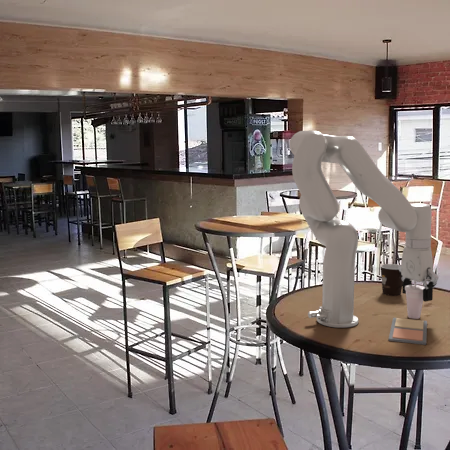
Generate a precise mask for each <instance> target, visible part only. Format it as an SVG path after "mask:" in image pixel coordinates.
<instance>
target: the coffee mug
mask: <svg viewBox="0 0 450 450" xmlns="http://www.w3.org/2000/svg"><path fill="white" fill-rule="evenodd" d="M399 265H400V264H397V263H395V264H394V263H385V264H381V265H380V275H381V276H380V278H381V288H382V294H383V295H386V296H391V297H397V296H401V295H402V288H403V281H402V280H401V278H402V277H401V275H400V271H399V268H398V266H399Z"/></svg>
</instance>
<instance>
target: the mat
mask: <svg viewBox="0 0 450 450" xmlns="http://www.w3.org/2000/svg"><path fill="white" fill-rule="evenodd" d="M427 328H428V320H423V319H422V320H421V319H413V318H409V319H408V318H401V317H400V318H399V317H393V318H392V322H391V326H390V330H389V331H390V332H389V335H388V341H389V342H397V343H398V342H399V343H405V344H416V345H422V346H423V345H425V346H427V335H428V334H427Z"/></svg>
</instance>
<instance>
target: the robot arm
mask: <svg viewBox="0 0 450 450" xmlns="http://www.w3.org/2000/svg"><path fill="white" fill-rule="evenodd" d="M289 149H290V152H291V153H292V154H293V160H292V167H291V171H292V172H291V173H292V178H293V180H294V183H295V185H296V187H297V189H298V190H299V194H300V196H299V202H298V203H299V204H298V205H299V209H300V212H301V214H302V216H303V218H304V220H305V222H306V224H307V225H308V227H309V229H310V230H311V232H312V235H313V236H314V237H315V239H316V240H317V242H318V243H319V244H320V245H322V246H324V247H325V250H324V251H325V252H324V255H323V261H322V262H323V263H322V302H321V303H322V305H321V306H319V307H318V309H317V310H315V311H314V310H313V311H311V310H310V311H308V312H307V317H308V318H309V319H312V318H313V319H314V318H315V319H316V322H318V323H319V324H320V325H323V326H325V327H330V328H339V329H344V328H352V327H355V326H357V325H358V324H359V318H358V316H356V315H354V306H355V305H354V304H355V278H356V277H355V273H356V271H355V269H356V258H357V256H356V255H357V250H358V245H359V235H358V231H357V230H356V227H354V225H352V224H351V223H349V222H348V221H345V220H343V219H340V218H339V217H338V214H339V210H340V205H339V201H338V199H337V197H336V196H335V195H336V194H334V192H333V190H332V188H331V186H330V185H329V183H328V181H327V179H326V176H325V175H324V172H323V169H322V163H328V164H330V163H331V164H338V165H340V167H341V169H343V171H344V173H346V175H347V176H348V178H349V180H350V181H351V182H352V183H353V184H354V186H355V188H356V189H357V190H358V191H359V192H360V193H361V194H362V195H364V196H365V197H366V198H368V199H370V200H371V201H373V202H374V203H376V204H377V205H378V206H379V207H380V210H379V211H378V216H377V217H378V220H379V221H378V222H380V224H382V225H383V226H384V227H386V228H389V229H390V230H391V229H392V230H395V231H398V232H401V233H405V244H404V245H405V246H404V247H403V249H402V250H403V251H402V254H401V264H398V265H399V266H398V268H399V271H400V275H401V277H402V278H401V280H402V281H403V286H402V290H401V294H405V295H406V291H405V286H407V285H413V282H414V281H416V283H417V282H418V283H421V284H422V286H423V287H425V288H424V289H423V302H430V301H432V300H433V299H434V298H433V297H434V296H433V294H434V293H433V291H434V289H435V287H436V286H437V282H438V280H439V276H438V275H437V274H436V272H434V262H433V252H432V247H431V246H432V207H431V205H429V204H428V203H410V201H409V200H408V198H407V197H406V196H405V195H404V193H403V192H402V191H401V189H399V188H398V187H397V186H396V185H395V184H394V183H392V182H391V180H390V179H389V178H388V177H386V176H385V174H383V173H382V171H381V170H380V169H379V167H378V166H377V164H376V163H375V162H374V160H373V159H372V158H371V156H370V154H369V153H368V152H367V150H366V149H365V147H364V146H363V144H361V142H360V141H359V140H358V139H357V138H355V137H354V136H350V135H348V136H347V135H345V136H344V135H332V134H331V135H329V134H324V133H322V132H320V131H317V130H313V129H312V130H309V129H308V130H300V131H297V132H296V133H294V135H292V136H291V138H290V140H289ZM412 281H413V282H412Z"/></svg>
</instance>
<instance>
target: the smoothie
mask: <svg viewBox="0 0 450 450" xmlns="http://www.w3.org/2000/svg"><path fill="white" fill-rule="evenodd" d="M424 288H425V287H424V285H418V284H417V281H414V280H413V284H412V285H407V286H405V291H406V294H405V298H406V308H407V311H406V312H407V317H408V318H409V319H413V320H419V319H420V318H421V314H422V308H423V303H424V301H423V289H424Z"/></svg>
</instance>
